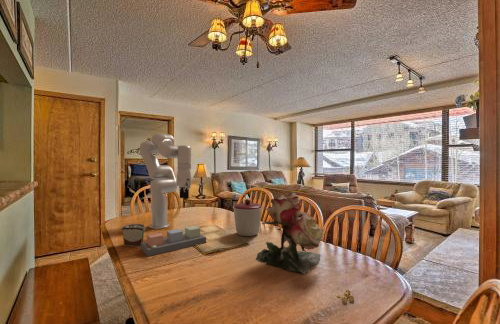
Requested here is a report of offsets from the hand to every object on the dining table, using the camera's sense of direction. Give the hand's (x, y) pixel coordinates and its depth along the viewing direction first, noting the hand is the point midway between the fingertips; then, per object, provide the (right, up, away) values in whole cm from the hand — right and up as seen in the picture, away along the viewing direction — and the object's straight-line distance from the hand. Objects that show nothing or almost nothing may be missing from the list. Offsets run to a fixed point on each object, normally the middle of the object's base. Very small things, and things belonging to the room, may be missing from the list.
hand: (184, 198), depth 139 cm
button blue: (-1, -20, -15) cm, 25 cm away
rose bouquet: (+58, -23, -30) cm, 69 cm away
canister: (+37, -23, +6) cm, 43 cm away
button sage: (+7, -20, -8) cm, 23 cm away
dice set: (+69, -24, -61) cm, 96 cm away
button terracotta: (-9, -20, -21) cm, 30 cm away
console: (-1, -22, -15) cm, 27 cm away
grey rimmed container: (-22, -23, -12) cm, 34 cm away
